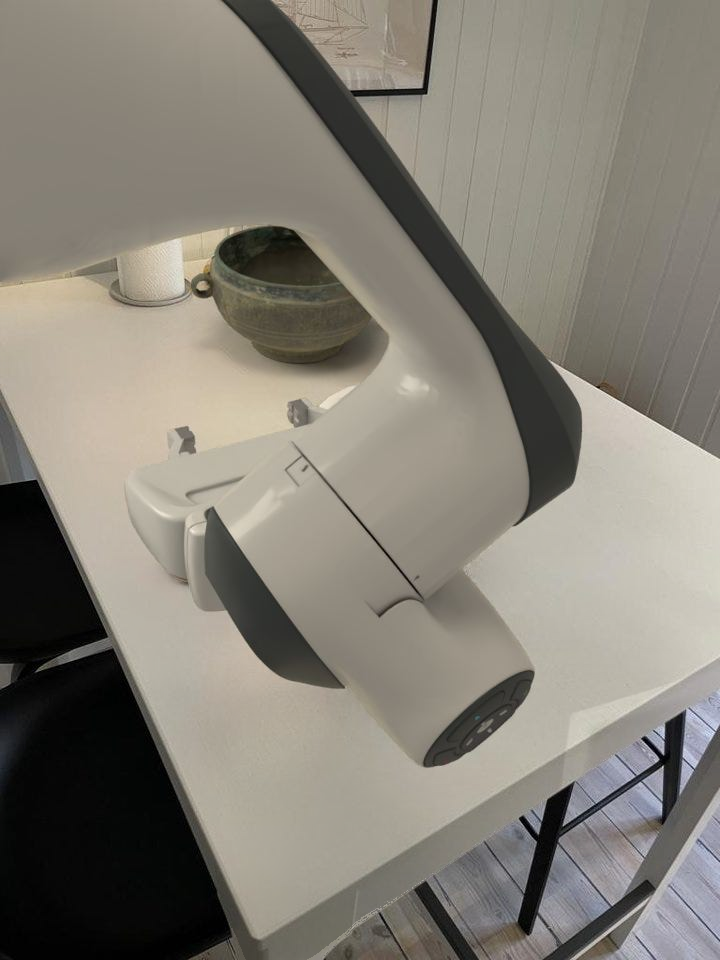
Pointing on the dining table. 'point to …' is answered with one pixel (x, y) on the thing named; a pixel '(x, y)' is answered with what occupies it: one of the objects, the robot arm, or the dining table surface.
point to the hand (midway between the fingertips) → (238, 421)
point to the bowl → (281, 295)
